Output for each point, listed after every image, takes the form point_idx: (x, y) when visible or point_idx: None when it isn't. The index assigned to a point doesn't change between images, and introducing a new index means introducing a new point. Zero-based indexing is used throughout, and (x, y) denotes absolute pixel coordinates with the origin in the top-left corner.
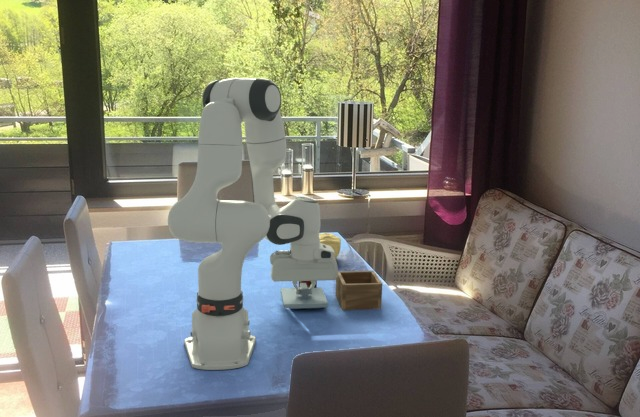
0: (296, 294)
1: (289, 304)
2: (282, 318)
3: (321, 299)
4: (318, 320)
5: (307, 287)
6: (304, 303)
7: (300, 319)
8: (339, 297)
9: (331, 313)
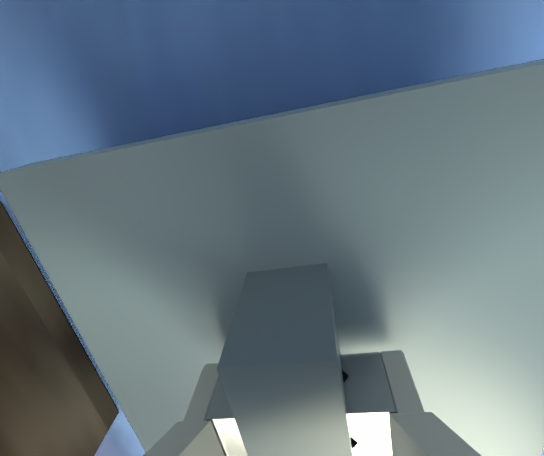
0: (396, 350)
1: (525, 65)
2: (527, 9)
3: (100, 276)
4: (141, 9)
5: (247, 447)
6: (282, 134)
7: (324, 9)
8: (3, 359)
9: None
